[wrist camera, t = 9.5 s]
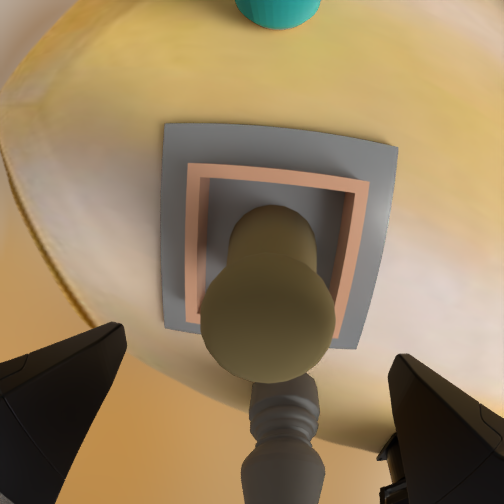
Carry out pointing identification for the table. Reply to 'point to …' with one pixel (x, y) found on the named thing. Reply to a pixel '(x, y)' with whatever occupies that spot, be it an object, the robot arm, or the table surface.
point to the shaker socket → (273, 193)
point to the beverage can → (278, 12)
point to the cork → (269, 300)
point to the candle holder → (283, 444)
